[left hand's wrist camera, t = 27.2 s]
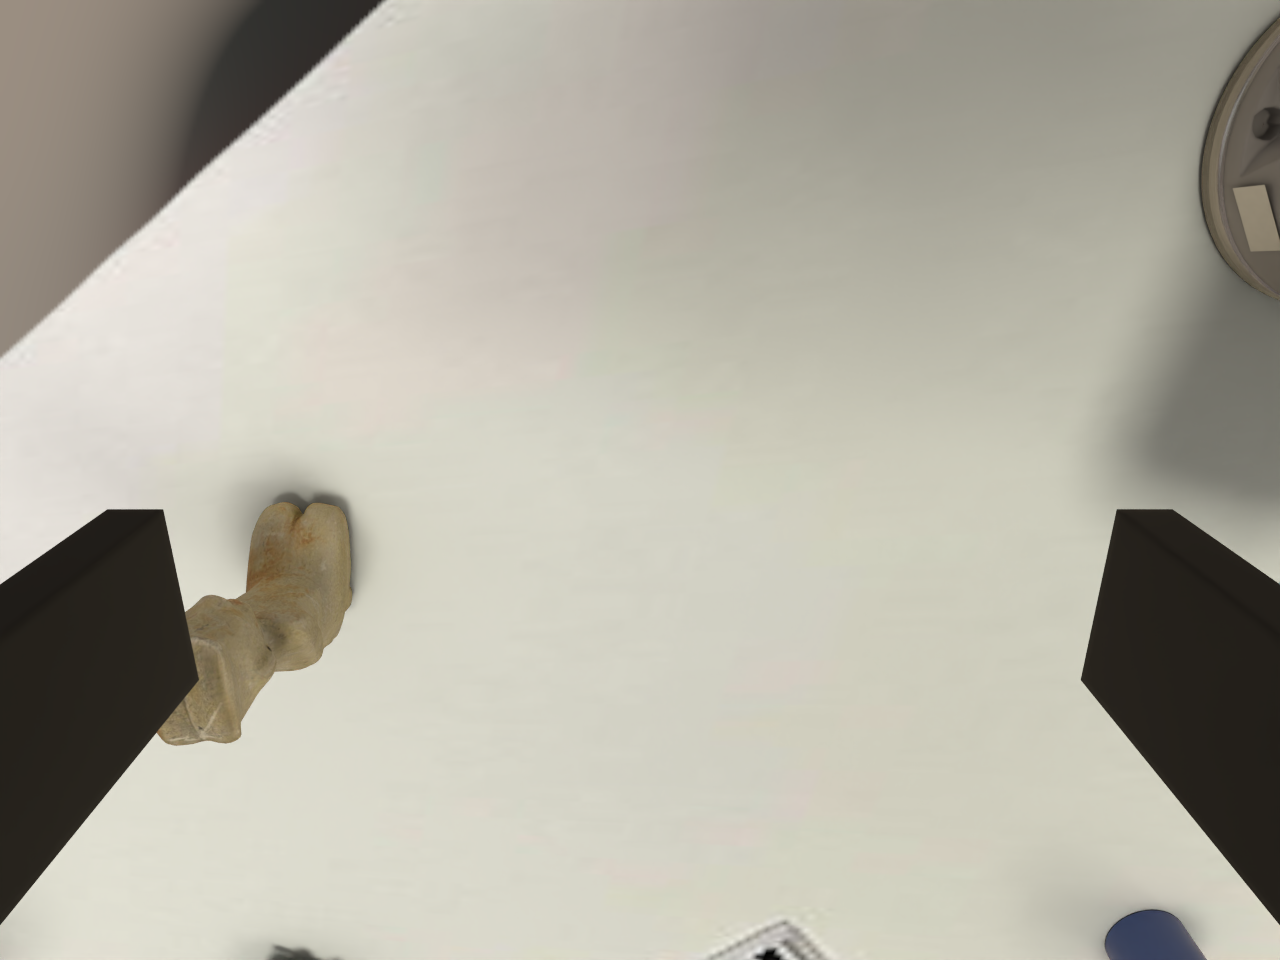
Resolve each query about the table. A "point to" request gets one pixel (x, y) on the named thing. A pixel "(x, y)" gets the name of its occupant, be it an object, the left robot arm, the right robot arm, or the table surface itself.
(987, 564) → the table surface
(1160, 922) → the canister
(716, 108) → the table surface
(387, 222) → the table surface
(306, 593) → the sculpture
